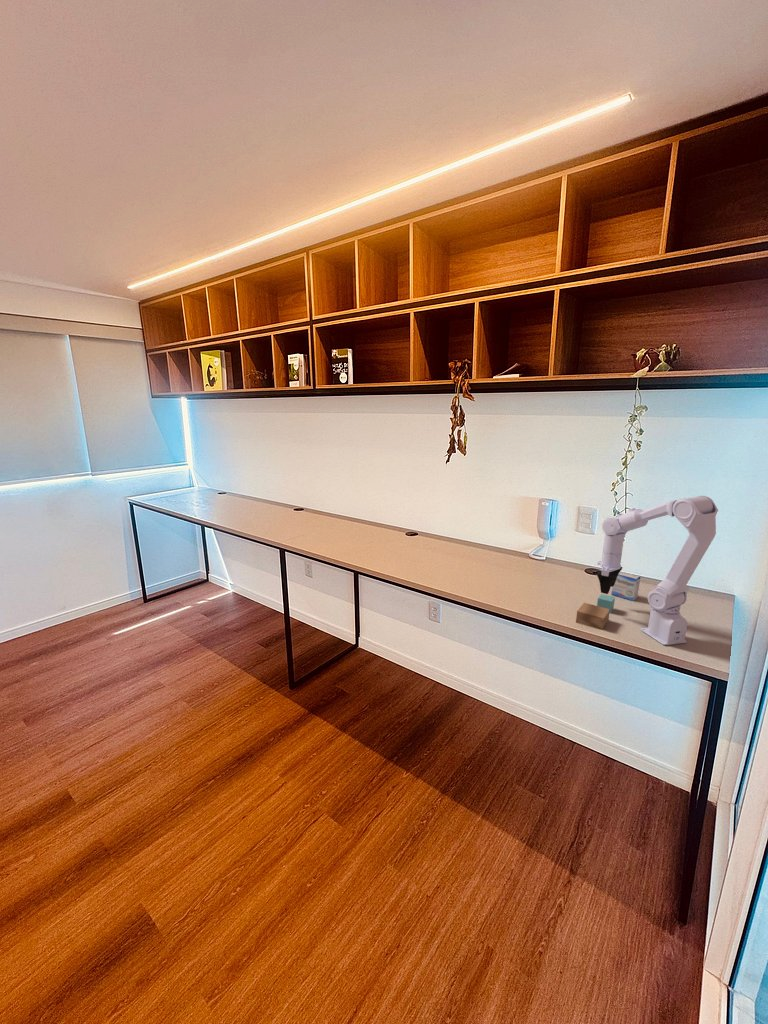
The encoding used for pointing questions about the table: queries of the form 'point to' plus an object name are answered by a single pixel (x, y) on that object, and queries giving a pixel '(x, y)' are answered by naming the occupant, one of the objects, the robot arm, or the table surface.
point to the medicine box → (626, 586)
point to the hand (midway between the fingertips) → (607, 589)
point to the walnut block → (593, 616)
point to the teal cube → (606, 602)
